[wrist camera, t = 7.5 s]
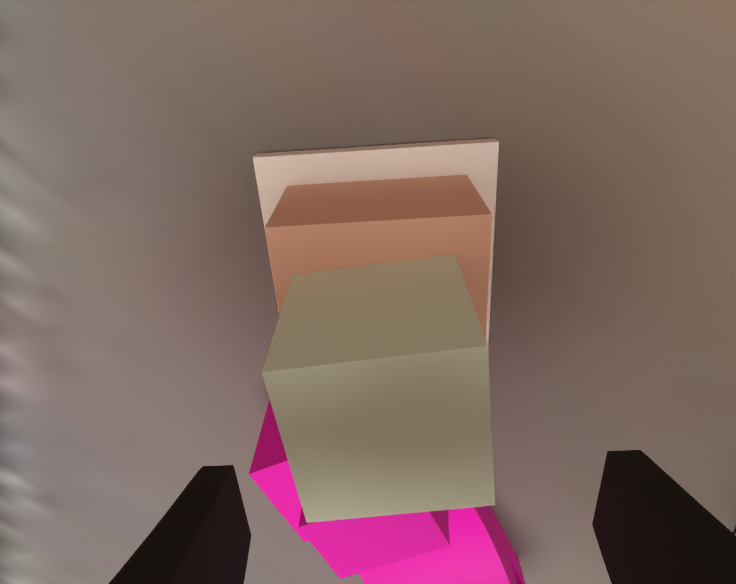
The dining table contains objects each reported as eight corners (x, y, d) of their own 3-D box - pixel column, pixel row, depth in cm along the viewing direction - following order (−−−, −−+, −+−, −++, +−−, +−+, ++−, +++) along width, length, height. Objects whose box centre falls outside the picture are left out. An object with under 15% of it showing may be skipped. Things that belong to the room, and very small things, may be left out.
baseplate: (494, 138, 17) (498, 141, 16) (484, 340, 21) (488, 349, 20) (256, 153, 17) (252, 157, 17) (288, 350, 21) (286, 359, 20)
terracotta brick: (467, 174, 17) (491, 214, 13) (463, 328, 20) (482, 395, 16) (286, 185, 17) (264, 227, 14) (308, 336, 20) (294, 404, 16)
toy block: (271, 393, 22) (227, 550, 16) (401, 341, 21) (414, 489, 14) (410, 586, 28) (421, 757, 22) (517, 555, 27) (564, 727, 20)
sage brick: (464, 384, 16) (495, 505, 12) (323, 400, 16) (306, 522, 12) (455, 253, 14) (487, 345, 10) (292, 274, 14) (261, 372, 10)
